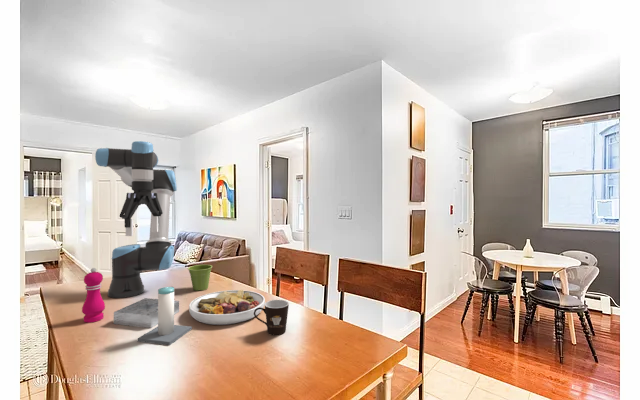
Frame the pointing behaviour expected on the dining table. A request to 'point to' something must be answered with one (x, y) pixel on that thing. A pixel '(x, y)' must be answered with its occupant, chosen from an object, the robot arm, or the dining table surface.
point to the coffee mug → (275, 316)
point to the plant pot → (200, 276)
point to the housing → (140, 313)
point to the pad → (165, 339)
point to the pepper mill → (93, 297)
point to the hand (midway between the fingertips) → (142, 233)
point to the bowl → (226, 307)
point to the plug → (165, 310)
